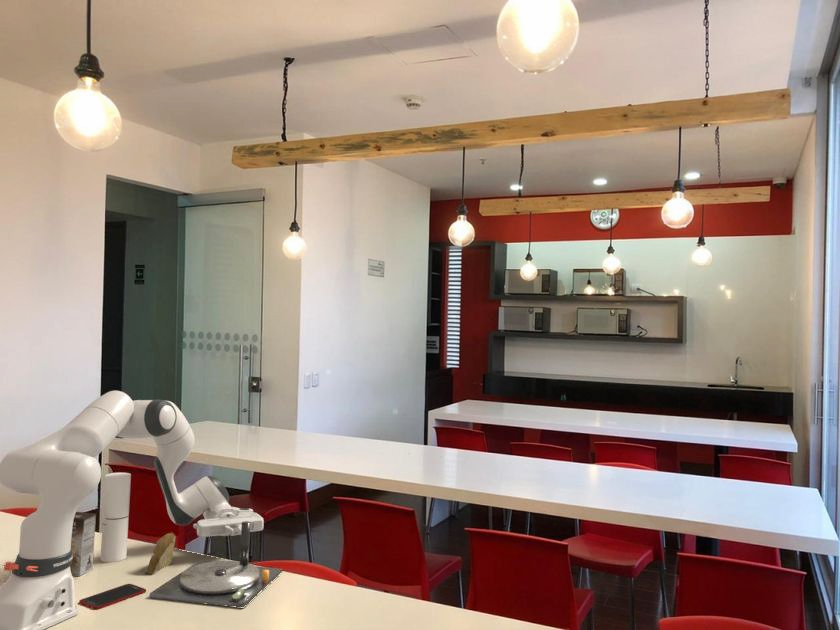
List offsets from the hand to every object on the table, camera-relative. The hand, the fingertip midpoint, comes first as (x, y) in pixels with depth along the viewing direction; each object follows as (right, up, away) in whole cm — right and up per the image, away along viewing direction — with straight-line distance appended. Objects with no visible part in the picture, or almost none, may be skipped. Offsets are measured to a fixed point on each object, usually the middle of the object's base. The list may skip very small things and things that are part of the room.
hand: (236, 532), depth 199 cm
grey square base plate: (+1, -8, -18) cm, 20 cm away
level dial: (+1, -7, -18) cm, 20 cm away
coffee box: (-43, -7, -13) cm, 46 cm away
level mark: (+13, -8, -18) cm, 24 cm away
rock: (-21, -8, -8) cm, 24 cm away
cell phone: (-24, -8, -29) cm, 39 cm away
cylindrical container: (-37, -8, -1) cm, 38 cm away
